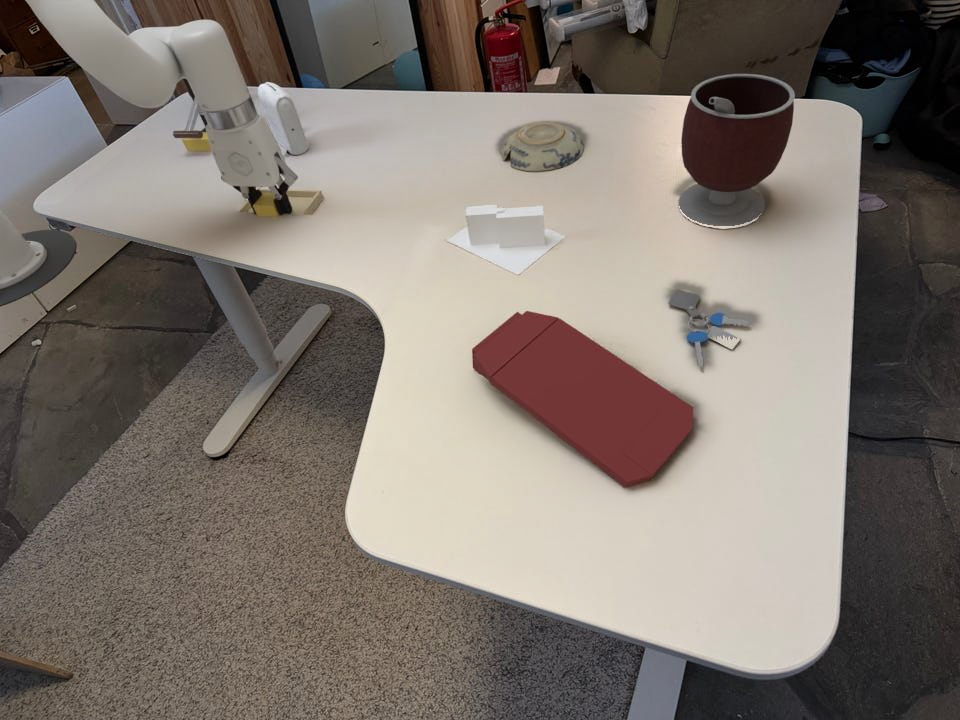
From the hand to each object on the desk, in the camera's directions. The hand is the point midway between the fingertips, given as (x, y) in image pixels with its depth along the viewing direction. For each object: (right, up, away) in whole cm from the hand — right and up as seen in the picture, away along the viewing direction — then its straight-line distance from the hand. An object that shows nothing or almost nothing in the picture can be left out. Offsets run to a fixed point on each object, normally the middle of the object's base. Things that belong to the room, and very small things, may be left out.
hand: (274, 214), depth 105 cm
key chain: (+65, -21, -30) cm, 74 cm away
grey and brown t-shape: (-22, +26, +19) cm, 39 cm away
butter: (-22, +18, +22) cm, 36 cm away
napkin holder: (+40, -7, -12) cm, 42 cm away
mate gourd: (+72, -2, -13) cm, 73 cm away
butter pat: (0, 0, 0) cm, 0 cm away
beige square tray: (0, 0, 0) cm, 1 cm away
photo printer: (-3, +18, +19) cm, 27 cm away
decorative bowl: (+47, +13, +5) cm, 49 cm away
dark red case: (+47, -30, -35) cm, 66 cm away
